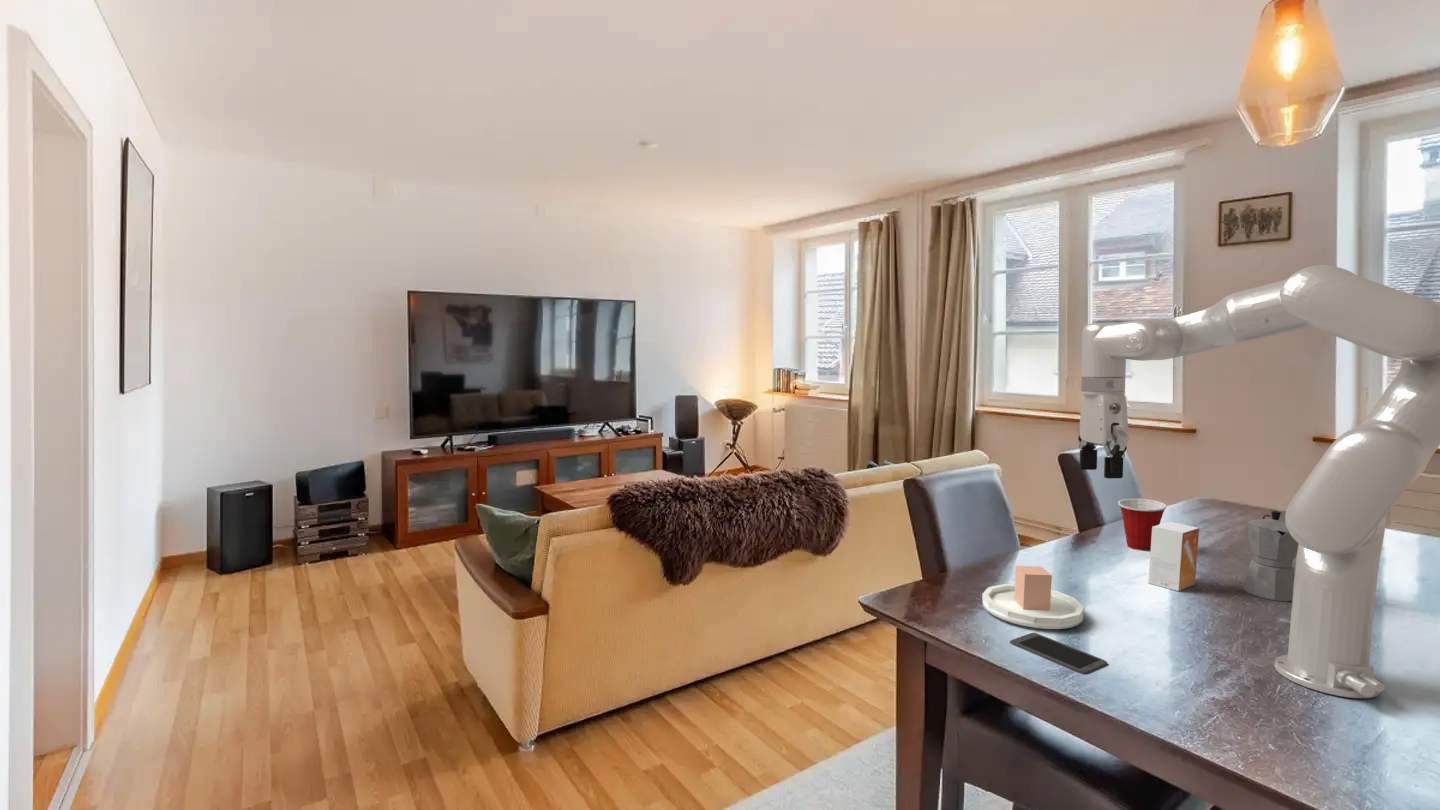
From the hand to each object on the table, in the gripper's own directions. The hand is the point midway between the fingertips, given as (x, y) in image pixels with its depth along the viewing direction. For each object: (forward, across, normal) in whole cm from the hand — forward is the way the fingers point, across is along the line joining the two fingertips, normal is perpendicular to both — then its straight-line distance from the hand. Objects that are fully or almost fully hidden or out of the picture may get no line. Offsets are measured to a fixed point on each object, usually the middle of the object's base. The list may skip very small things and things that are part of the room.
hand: (1100, 473), depth 133 cm
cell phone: (+28, -20, +16) cm, 38 cm away
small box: (+28, +17, -24) cm, 41 cm away
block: (+26, -2, +13) cm, 29 cm away
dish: (+27, -2, +13) cm, 31 cm away
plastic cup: (+28, +44, -32) cm, 61 cm away
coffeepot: (+28, +13, -42) cm, 52 cm away
